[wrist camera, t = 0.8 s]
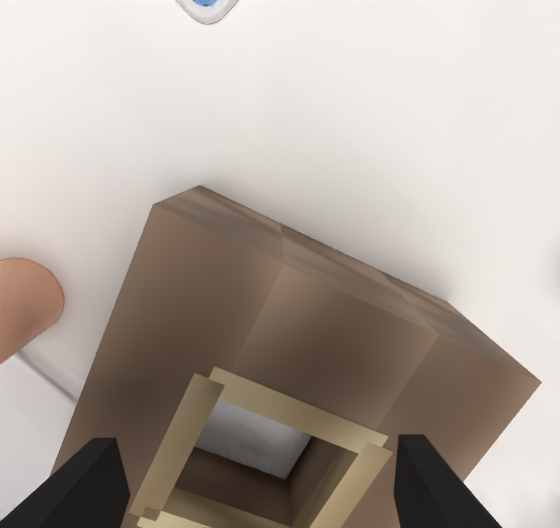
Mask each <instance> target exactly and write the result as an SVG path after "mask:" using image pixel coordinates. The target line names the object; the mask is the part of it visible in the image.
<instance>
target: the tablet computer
mask: <svg viewBox="0 0 560 528" xmlns="http://www.w3.org/2000/svg"><path fill="white" fill-rule="evenodd" d="M177 1H178V2H179V3H180V5H181V6H182V7H183V8H184V9H185V10H186V11H187V12H188V13H189V14H190V15H191V16H192V17H193V18H194V19H196V20H197V21H199V22H202V23H204V24H211V23H215V22H217V21H219V20H220V19H221V18H223V17H224V16H225V15H226V14H227V12H228V11H229V10H230V9H231V8H232V7H233V5H234V4H235V3H236V2H237V1H238V0H177Z"/></svg>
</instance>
